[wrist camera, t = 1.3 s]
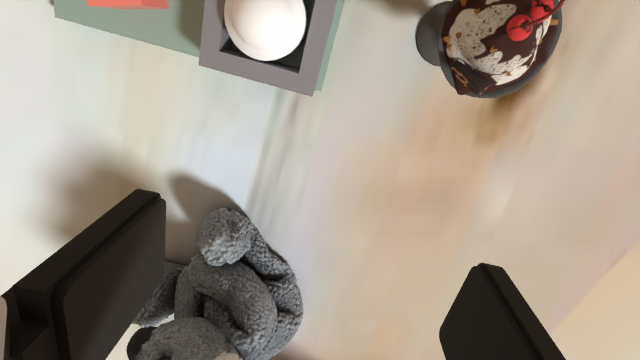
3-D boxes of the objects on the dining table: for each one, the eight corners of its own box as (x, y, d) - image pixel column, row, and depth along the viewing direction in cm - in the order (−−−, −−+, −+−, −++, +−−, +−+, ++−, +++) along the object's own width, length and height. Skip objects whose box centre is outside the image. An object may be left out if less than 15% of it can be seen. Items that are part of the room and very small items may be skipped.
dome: (241, -33, 24) (219, -47, 20) (315, -12, 24) (310, -20, 20) (230, 46, 26) (209, 50, 22) (298, 66, 27) (290, 73, 22)
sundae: (481, -24, 26) (638, -84, 12) (491, 62, 28) (630, 92, 15) (398, 5, 27) (456, -18, 13) (415, 86, 30) (477, 134, 16)
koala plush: (229, 189, 35) (116, 353, 17) (339, 290, 40) (337, 498, 22) (138, 271, 41) (-19, 458, 23) (244, 351, 46) (182, 556, 28)
